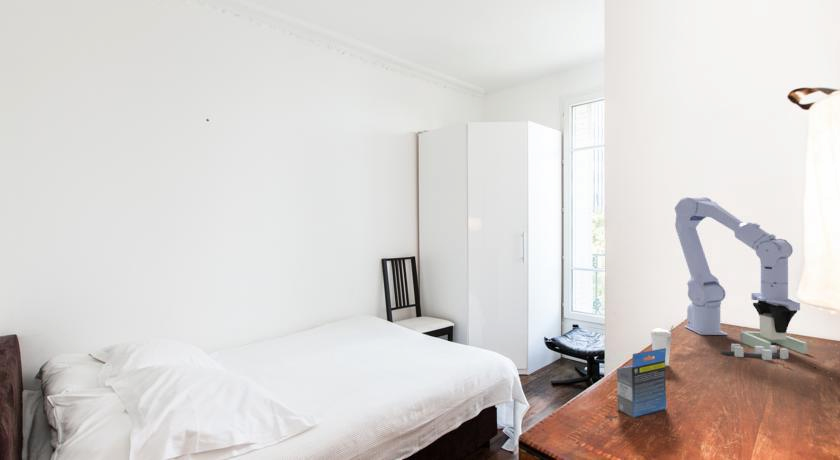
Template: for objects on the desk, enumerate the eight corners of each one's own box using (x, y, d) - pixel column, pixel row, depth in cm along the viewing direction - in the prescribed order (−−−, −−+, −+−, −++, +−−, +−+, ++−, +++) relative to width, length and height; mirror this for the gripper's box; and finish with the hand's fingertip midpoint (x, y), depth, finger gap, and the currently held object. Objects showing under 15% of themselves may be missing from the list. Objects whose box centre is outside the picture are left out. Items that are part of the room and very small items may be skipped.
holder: (739, 341, 117) (739, 331, 117) (776, 341, 116) (776, 331, 116) (767, 353, 107) (767, 342, 107) (807, 354, 106) (807, 343, 106)
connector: (775, 335, 112) (774, 312, 112) (786, 339, 108) (786, 315, 108) (760, 335, 113) (759, 312, 113) (771, 339, 109) (770, 316, 109)
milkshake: (678, 367, 98) (678, 327, 98) (657, 367, 98) (657, 328, 98) (667, 360, 103) (667, 323, 102) (647, 361, 103) (646, 323, 103)
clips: (727, 352, 108) (727, 343, 108) (775, 353, 107) (775, 344, 107) (741, 359, 103) (741, 350, 102) (793, 360, 101) (793, 350, 101)
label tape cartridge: (649, 401, 81) (649, 342, 80) (667, 409, 77) (666, 347, 77) (616, 409, 78) (616, 347, 77) (633, 418, 74) (633, 354, 74)
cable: (719, 352, 108) (719, 349, 108) (786, 353, 106) (786, 350, 106) (729, 357, 104) (729, 354, 104) (798, 358, 102) (798, 355, 102)
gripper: (740, 278, 118) (740, 323, 118) (779, 286, 103) (779, 337, 104) (765, 278, 117) (766, 323, 117) (808, 286, 103) (808, 338, 103)
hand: (774, 330), depth 110 cm, fingers closed on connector, 4 cm apart
